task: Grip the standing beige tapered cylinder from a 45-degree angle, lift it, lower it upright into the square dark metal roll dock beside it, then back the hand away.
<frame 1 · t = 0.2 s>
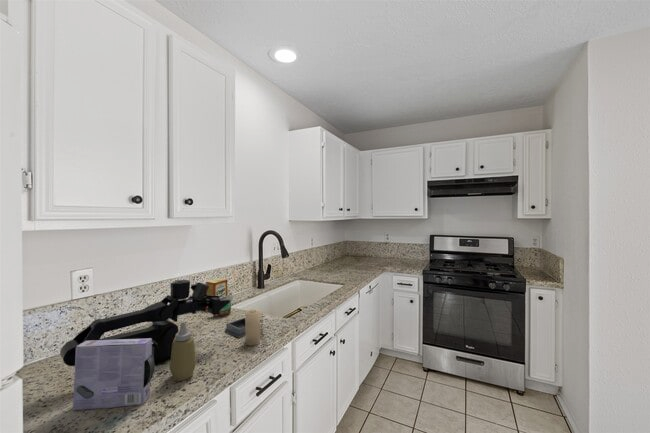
hand: (223, 298, 123), 17 cm above the worktop, tool horizontal, fingers open, 9 cm apart
food container: (224, 315, 149), on the worktop
beige tapered cylinder: (252, 341, 118), on the worktop
cake pan box: (115, 403, 80), on the worktop
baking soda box: (216, 307, 161), on the worktop
roll dock: (242, 330, 130), on the worktop
squeeze bottle: (183, 376, 93), on the worktop
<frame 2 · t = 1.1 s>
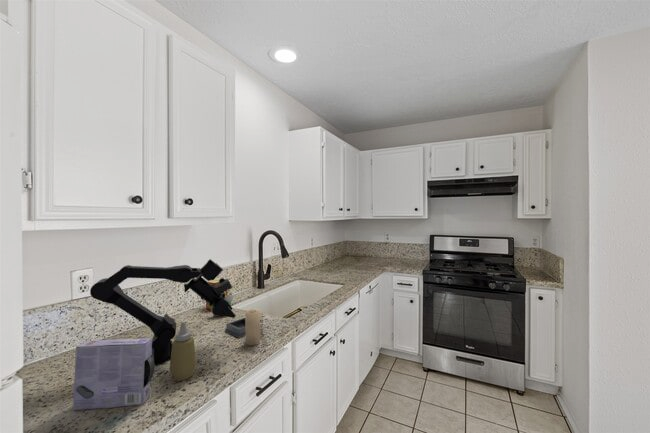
hand: (233, 313, 115), 14 cm above the worktop, tool tilted 45°, fingers open, 9 cm apart
nothing on the worktop moved.
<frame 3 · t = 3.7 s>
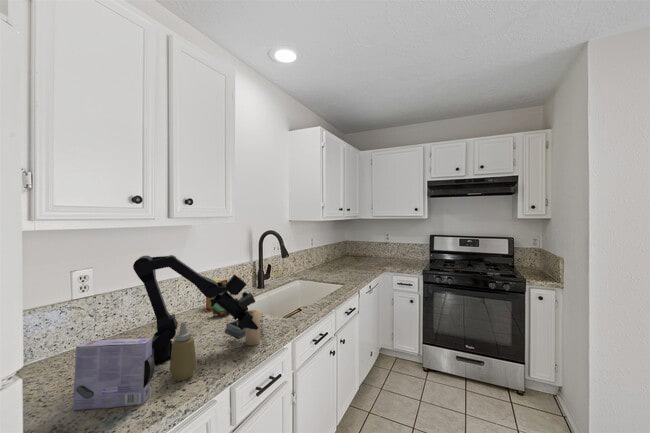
hand: (256, 325, 119), 7 cm above the worktop, tool tilted 45°, fingers closed on beige tapered cylinder, 6 cm apart
beige tapered cylinder: (252, 341, 118), on the worktop, touching gripper
everything else where it was.
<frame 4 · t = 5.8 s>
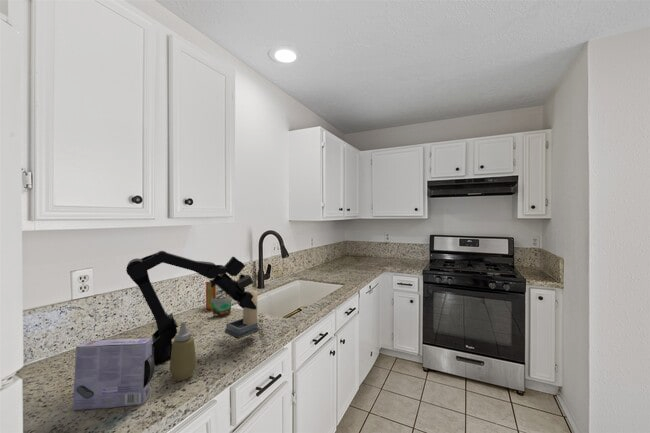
hand: (253, 306, 123), 13 cm above the worktop, tool tilted 45°, fingers closed on beige tapered cylinder, 6 cm apart
beige tapered cylinder: (250, 322, 122), point 7 cm above the worktop, touching gripper
everything else where it was.
when the fingers open (9 cm above the worktop, at t = 8.1 s): beige tapered cylinder drops 1 cm, resting on roll dock.
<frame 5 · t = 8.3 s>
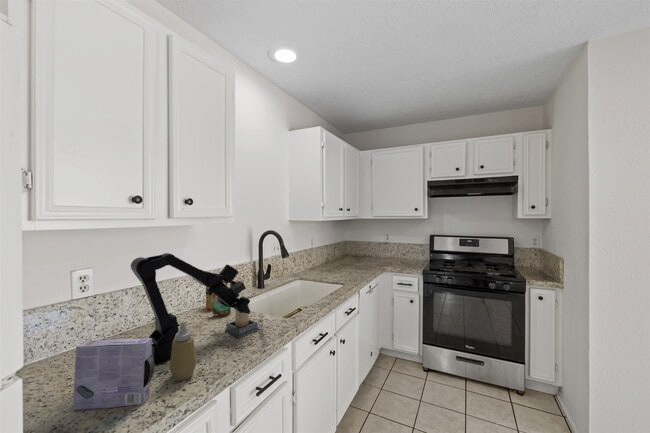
hand: (244, 310, 130), 9 cm above the worktop, tool tilted 45°, fingers open, 8 cm apart
beige tapered cylinder: (242, 328, 130), point 1 cm above the worktop, touching roll dock
everything else where it was.
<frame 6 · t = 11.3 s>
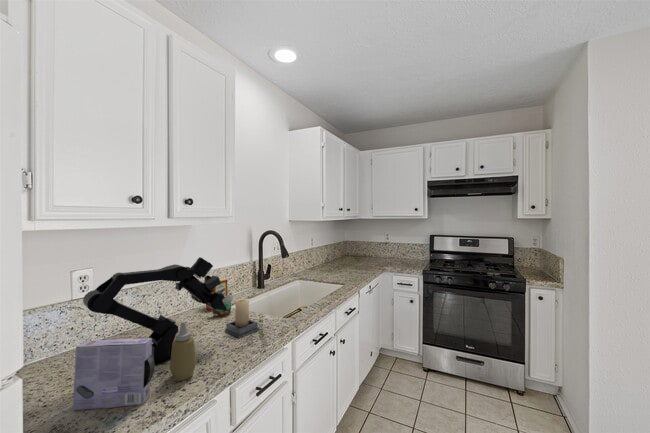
hand: (220, 307, 122), 13 cm above the worktop, tool tilted 45°, fingers open, 9 cm apart
nothing on the worktop moved.
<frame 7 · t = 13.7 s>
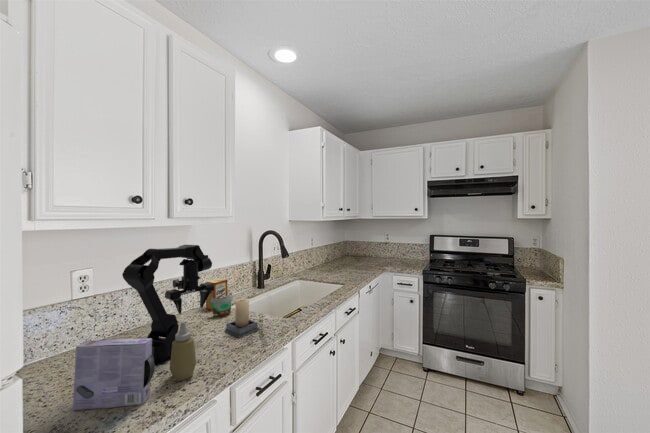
hand: (190, 310, 119), 13 cm above the worktop, tool pointing down, fingers open, 9 cm apart
nothing on the worktop moved.
at the end: beige tapered cylinder 0.0 cm off-centre on the roll dock, point 1.0 cm above the roll dock's base; beige tapered cylinder tilted 0°; the gripper is holding nothing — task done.
